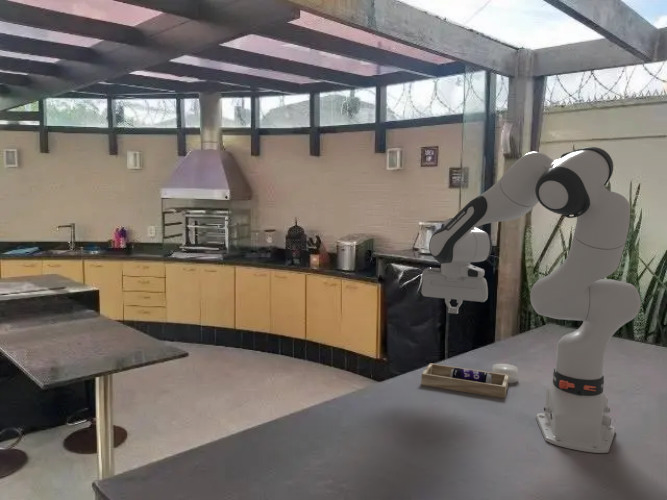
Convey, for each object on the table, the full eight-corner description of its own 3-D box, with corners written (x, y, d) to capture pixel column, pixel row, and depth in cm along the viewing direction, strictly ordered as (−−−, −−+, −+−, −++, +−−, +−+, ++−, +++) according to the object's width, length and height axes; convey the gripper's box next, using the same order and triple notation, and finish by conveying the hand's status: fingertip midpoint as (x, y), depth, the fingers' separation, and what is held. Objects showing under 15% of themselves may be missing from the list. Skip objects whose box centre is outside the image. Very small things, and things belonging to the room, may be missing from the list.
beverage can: (454, 370, 168) (492, 376, 163) (451, 387, 166) (490, 394, 161) (451, 364, 163) (491, 370, 159) (448, 382, 161) (488, 389, 156)
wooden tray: (504, 398, 155) (505, 387, 154) (421, 384, 164) (421, 374, 164) (508, 385, 166) (508, 374, 165) (429, 373, 175) (430, 363, 175)
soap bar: (516, 385, 166) (517, 373, 166) (490, 381, 170) (491, 369, 169) (518, 377, 174) (519, 365, 173) (493, 373, 177) (494, 362, 176)
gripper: (420, 267, 165) (418, 311, 166) (487, 272, 156) (484, 318, 158) (424, 266, 170) (423, 307, 172) (489, 270, 162) (487, 314, 163)
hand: (453, 313), depth 165 cm, fingers closed
